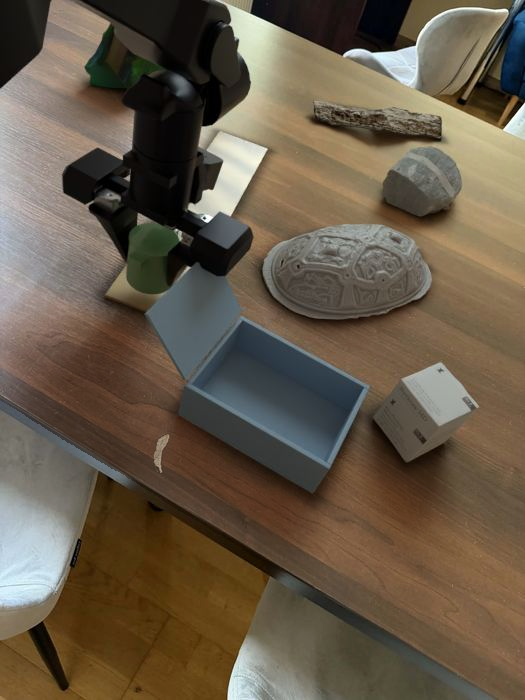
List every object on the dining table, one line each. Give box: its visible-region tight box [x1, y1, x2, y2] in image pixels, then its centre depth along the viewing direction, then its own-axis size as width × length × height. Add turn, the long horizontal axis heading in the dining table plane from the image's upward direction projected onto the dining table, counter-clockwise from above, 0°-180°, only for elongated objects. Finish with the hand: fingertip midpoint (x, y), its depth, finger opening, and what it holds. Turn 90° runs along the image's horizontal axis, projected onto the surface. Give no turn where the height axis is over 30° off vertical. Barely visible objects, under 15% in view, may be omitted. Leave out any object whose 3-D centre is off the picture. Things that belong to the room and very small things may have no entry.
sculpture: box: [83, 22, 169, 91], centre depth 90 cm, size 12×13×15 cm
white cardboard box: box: [372, 361, 480, 463], centre depth 59 cm, size 6×6×7 cm
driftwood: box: [312, 100, 443, 140], centre depth 103 cm, size 25×10×5 cm
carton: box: [177, 315, 371, 494], centre depth 57 cm, size 15×11×5 cm
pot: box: [126, 222, 180, 294], centre depth 61 cm, size 7×5×6 cm
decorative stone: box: [382, 145, 463, 218], centre depth 89 cm, size 13×10×6 cm
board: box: [104, 130, 268, 313], centre depth 76 cm, size 40×8×1 cm, turn 164°
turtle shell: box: [262, 223, 433, 320], centre depth 74 cm, size 16×25×7 cm, turn 115°
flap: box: [144, 262, 243, 381], centre depth 54 cm, size 7×11×1 cm
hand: (150, 272), depth 62 cm, fingers closed on pot, 5 cm apart
